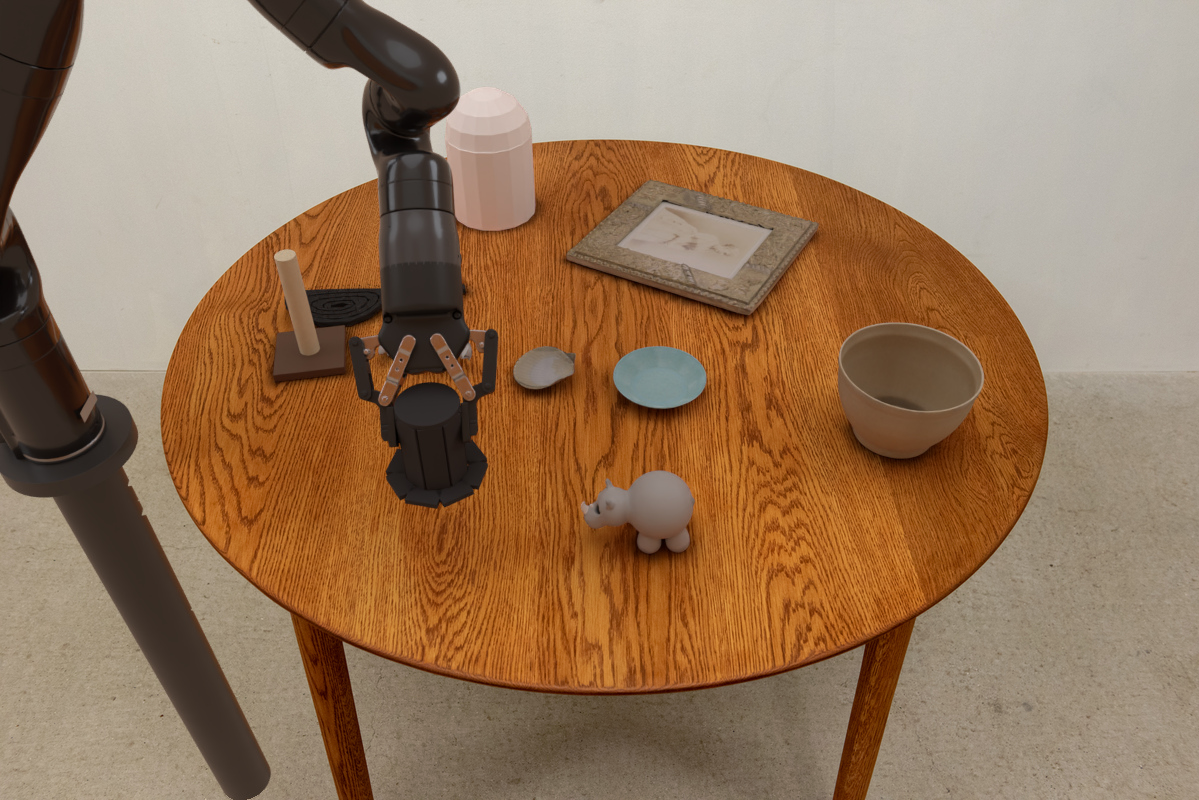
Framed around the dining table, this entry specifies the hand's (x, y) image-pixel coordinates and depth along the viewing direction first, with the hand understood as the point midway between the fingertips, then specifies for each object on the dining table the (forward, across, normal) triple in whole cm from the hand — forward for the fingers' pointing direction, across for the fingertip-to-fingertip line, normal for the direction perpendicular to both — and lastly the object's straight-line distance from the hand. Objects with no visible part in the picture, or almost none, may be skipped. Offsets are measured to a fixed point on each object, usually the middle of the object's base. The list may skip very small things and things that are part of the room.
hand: (431, 444), depth 88 cm
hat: (+3, 0, +5) cm, 6 cm away
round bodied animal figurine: (+11, +20, +15) cm, 27 cm away
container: (-38, +6, +64) cm, 75 cm away
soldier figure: (-11, -4, +38) cm, 39 cm away
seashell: (-8, +12, +34) cm, 37 cm away
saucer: (-5, +26, +31) cm, 41 cm away
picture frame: (-28, +36, +54) cm, 71 cm away
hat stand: (-13, -19, +39) cm, 46 cm away
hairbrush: (-21, -11, +47) cm, 52 cm away
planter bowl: (+2, +53, +24) cm, 58 cm away
